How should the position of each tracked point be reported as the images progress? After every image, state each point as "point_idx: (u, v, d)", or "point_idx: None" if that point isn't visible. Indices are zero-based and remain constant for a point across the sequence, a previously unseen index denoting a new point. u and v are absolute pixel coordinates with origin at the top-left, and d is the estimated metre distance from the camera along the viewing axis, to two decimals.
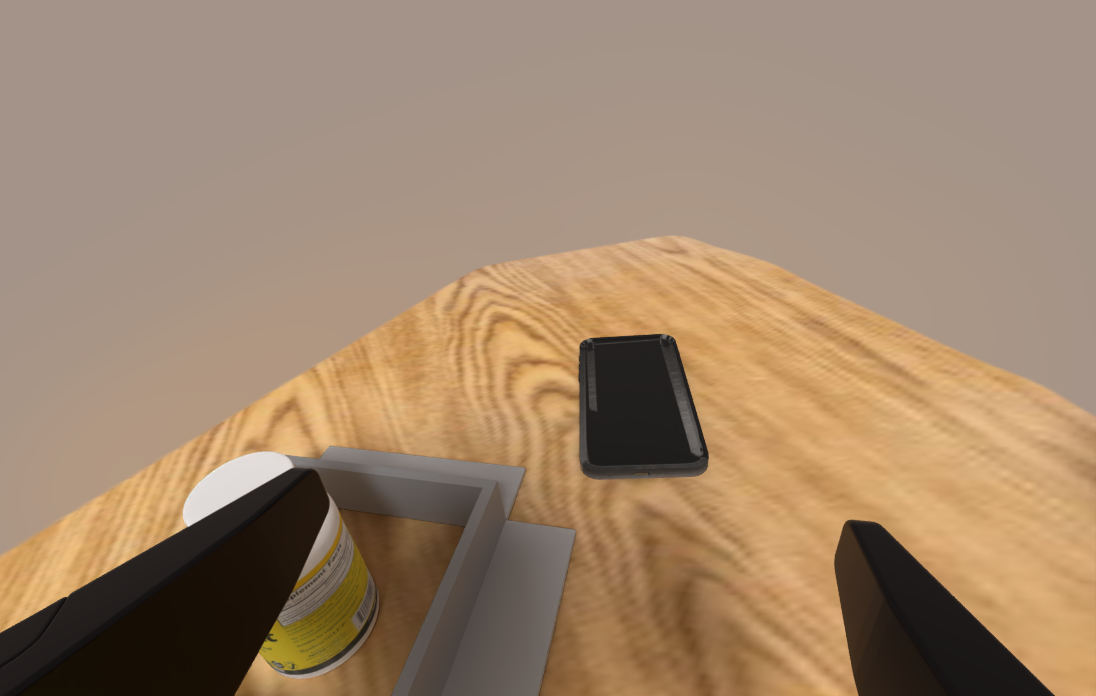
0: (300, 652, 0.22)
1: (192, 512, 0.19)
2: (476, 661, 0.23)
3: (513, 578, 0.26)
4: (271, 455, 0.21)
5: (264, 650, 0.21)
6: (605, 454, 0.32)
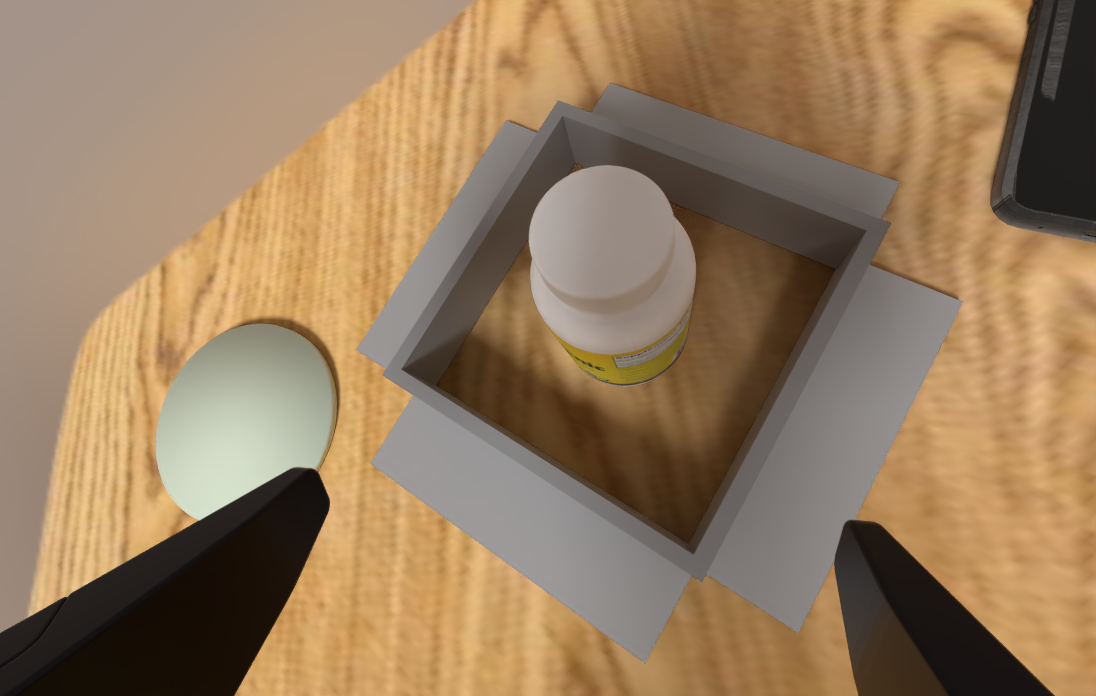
0: (620, 378, 0.20)
1: (544, 255, 0.14)
2: (801, 427, 0.20)
3: (859, 345, 0.20)
4: (633, 178, 0.14)
5: (584, 366, 0.20)
6: (1047, 189, 0.20)
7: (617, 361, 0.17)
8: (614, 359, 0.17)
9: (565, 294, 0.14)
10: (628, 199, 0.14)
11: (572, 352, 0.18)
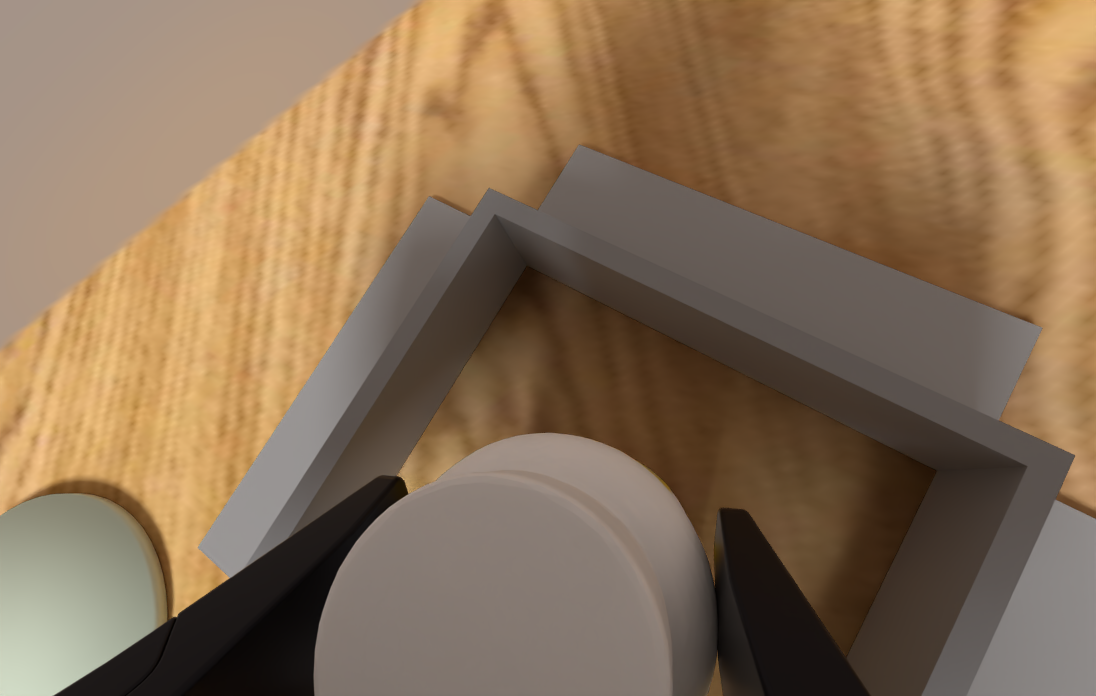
0: None
1: None
2: None
3: None
4: (568, 526, 0.05)
5: None
6: None
7: None
8: None
9: None
10: (554, 588, 0.05)
11: None
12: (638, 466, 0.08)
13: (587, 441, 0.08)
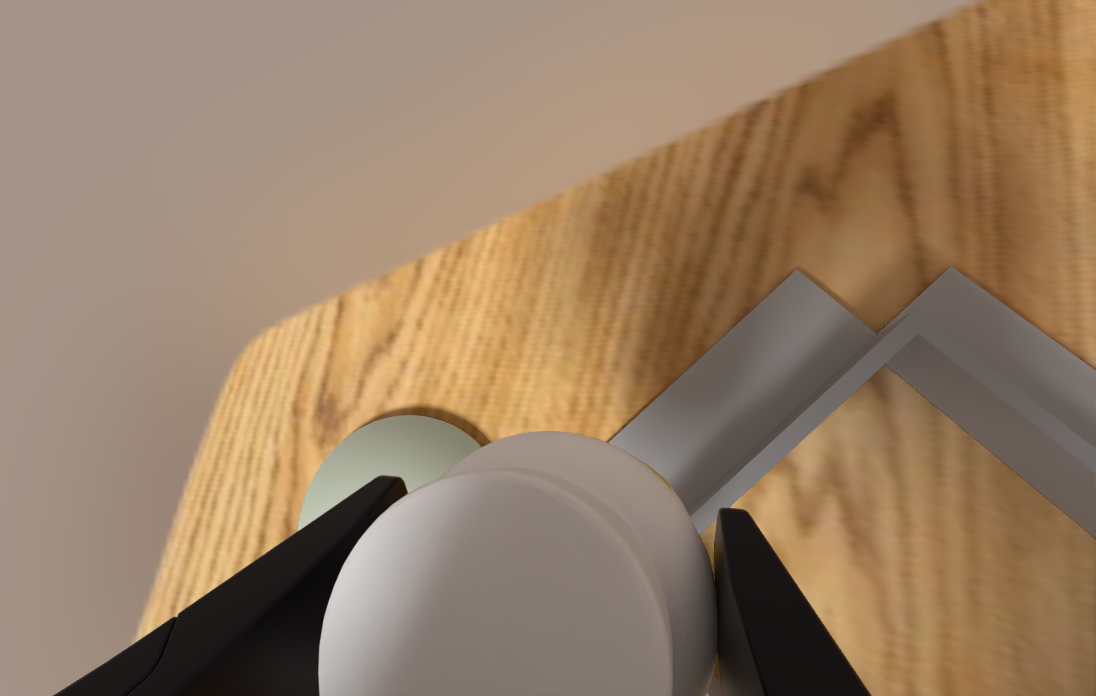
0: None
1: None
2: None
3: None
4: (569, 522, 0.06)
5: None
6: None
7: None
8: None
9: None
10: (555, 584, 0.05)
11: None
12: (639, 464, 0.08)
13: (588, 439, 0.08)
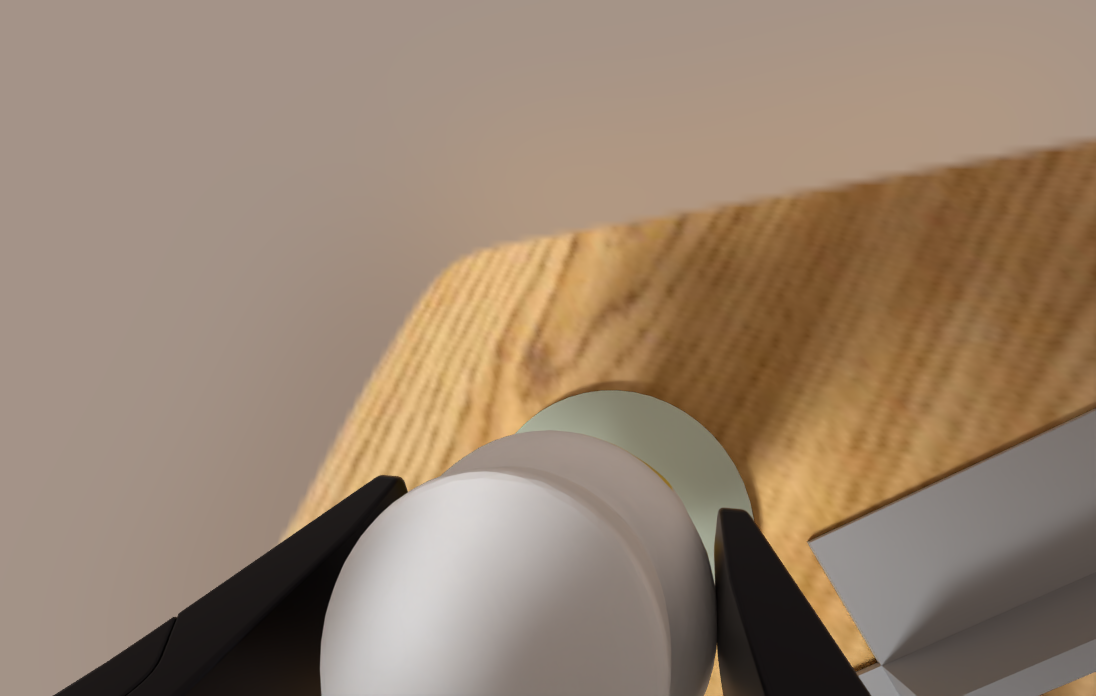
0: None
1: None
2: None
3: None
4: (568, 520, 0.06)
5: None
6: None
7: None
8: None
9: None
10: (554, 581, 0.05)
11: None
12: (638, 463, 0.08)
13: (588, 438, 0.08)
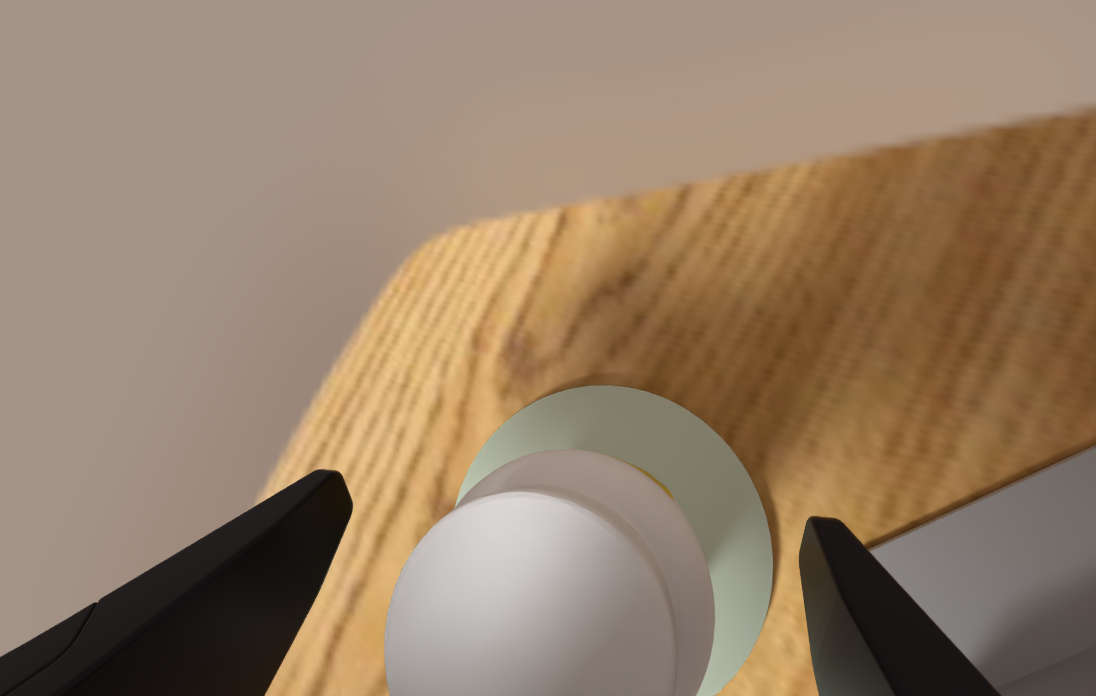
0: None
1: (410, 693, 0.07)
2: None
3: None
4: (592, 532, 0.07)
5: None
6: None
7: None
8: None
9: None
10: (581, 583, 0.07)
11: None
12: (645, 478, 0.09)
13: (600, 456, 0.10)
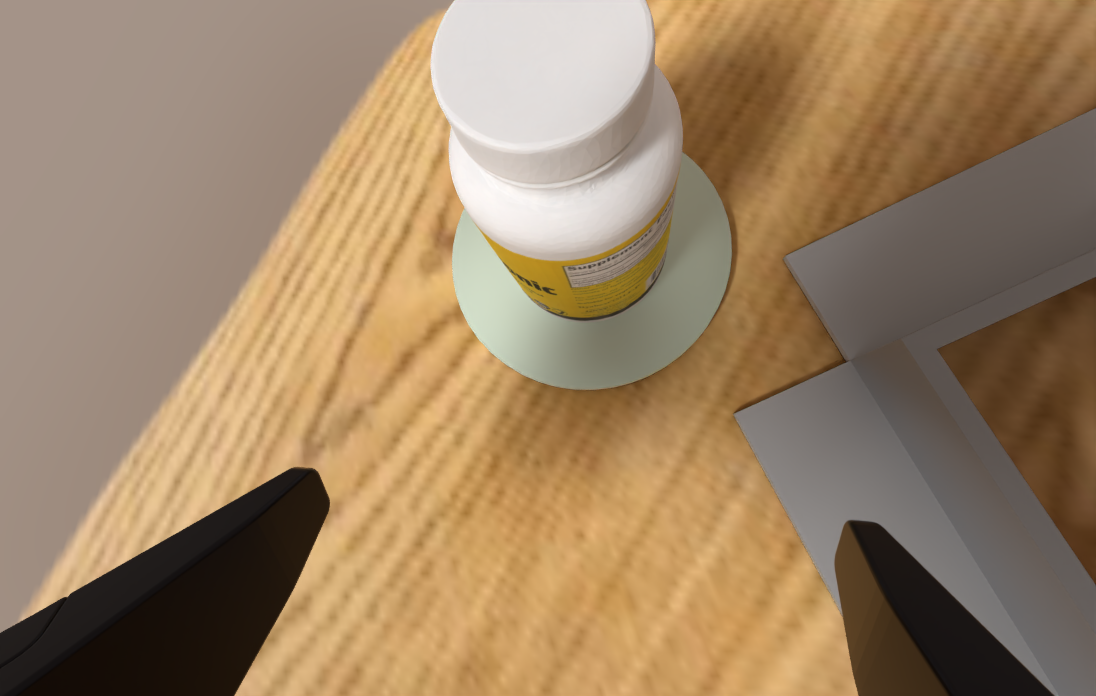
0: (578, 307, 0.15)
1: (452, 87, 0.09)
2: None
3: None
4: None
5: (531, 292, 0.15)
6: None
7: (570, 275, 0.12)
8: (565, 271, 0.12)
9: (483, 147, 0.09)
10: (584, 0, 0.09)
11: (511, 265, 0.13)
12: None
13: None
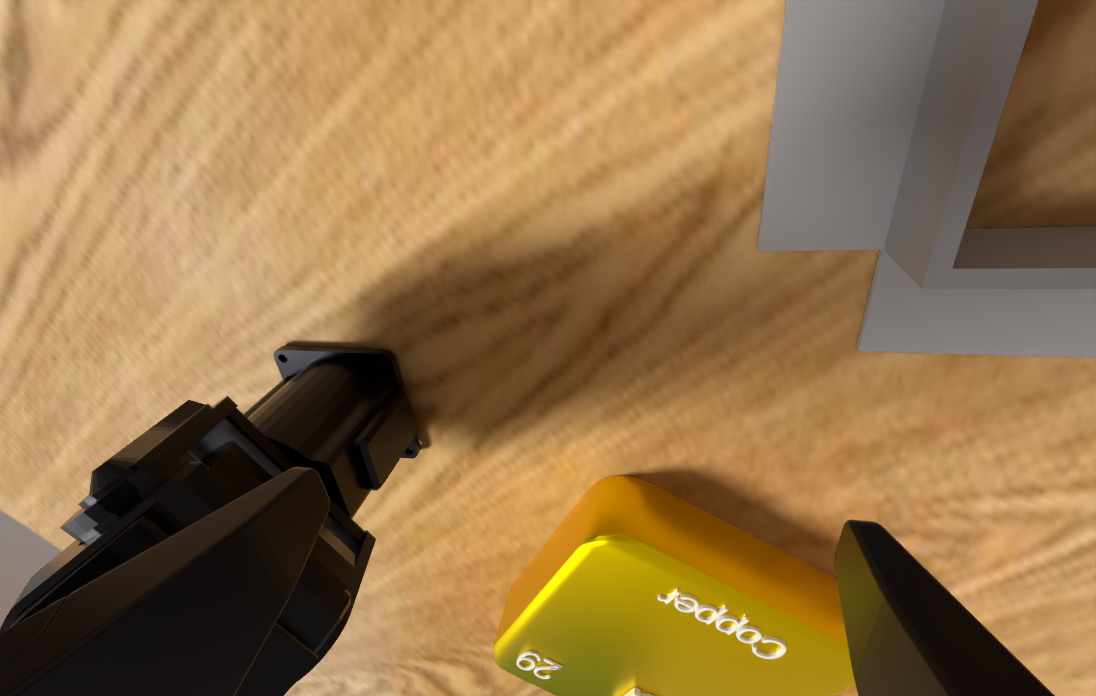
0: None
1: None
2: None
3: None
4: None
5: None
6: None
7: None
8: None
9: None
10: None
11: None
12: None
13: None
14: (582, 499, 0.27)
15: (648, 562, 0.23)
